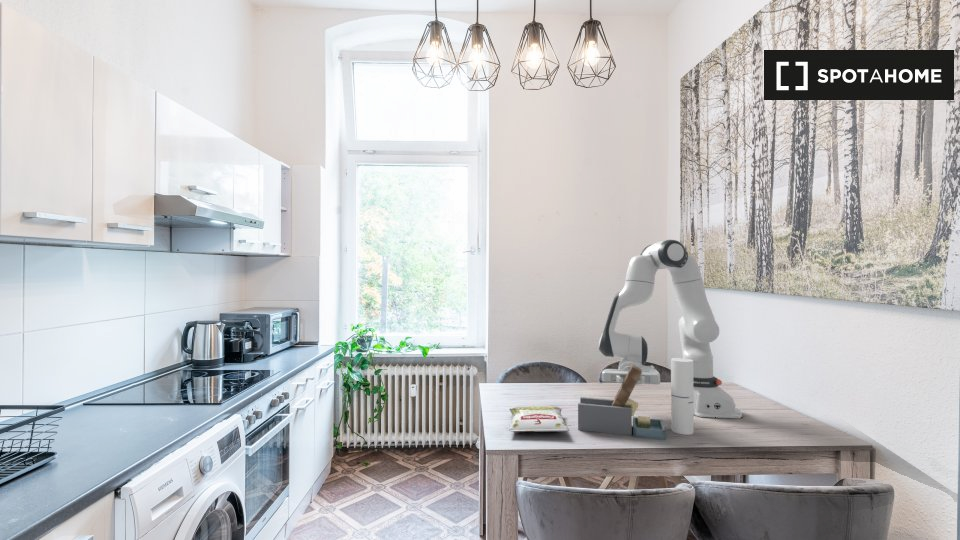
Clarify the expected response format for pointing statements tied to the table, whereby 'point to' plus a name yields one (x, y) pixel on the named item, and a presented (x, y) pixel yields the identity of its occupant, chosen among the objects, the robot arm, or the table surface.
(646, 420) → the tan wooden cube
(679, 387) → the cylindrical container
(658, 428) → the tray
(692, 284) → the robot arm
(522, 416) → the frozen beans
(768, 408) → the table surface
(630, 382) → the tall wooden post
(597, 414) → the channel
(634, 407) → the tan cube
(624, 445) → the table surface
